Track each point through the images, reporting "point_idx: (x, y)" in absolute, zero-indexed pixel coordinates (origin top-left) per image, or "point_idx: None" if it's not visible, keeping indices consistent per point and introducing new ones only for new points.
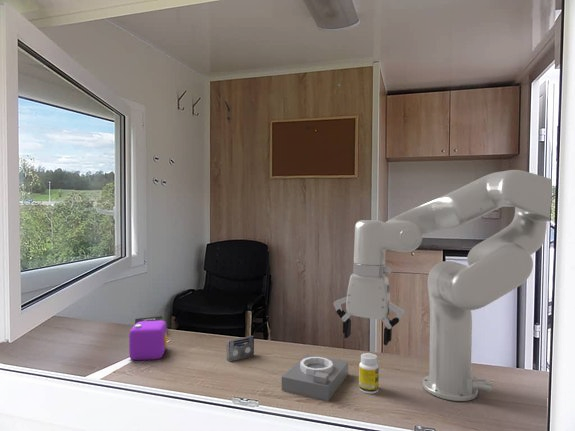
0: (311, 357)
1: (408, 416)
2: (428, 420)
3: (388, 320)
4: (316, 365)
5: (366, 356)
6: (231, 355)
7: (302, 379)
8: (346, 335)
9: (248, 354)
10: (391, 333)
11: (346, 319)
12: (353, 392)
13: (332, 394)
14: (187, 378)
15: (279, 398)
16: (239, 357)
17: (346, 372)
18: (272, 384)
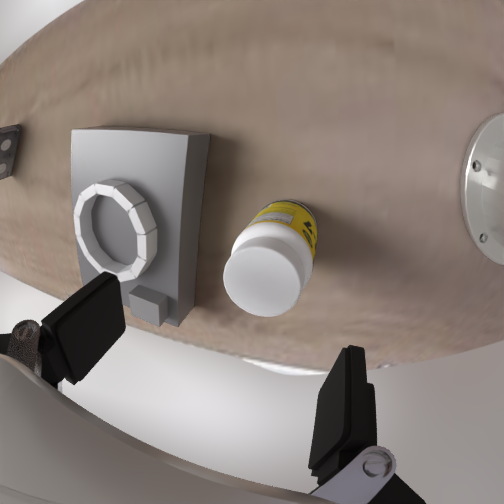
0: (83, 196)
1: (376, 342)
2: (413, 347)
3: (347, 494)
4: (110, 204)
5: (249, 291)
6: (3, 174)
7: None
8: (115, 335)
9: (13, 141)
10: (373, 416)
11: (59, 389)
12: None
13: (194, 281)
14: (13, 250)
15: None
16: (11, 158)
17: (201, 154)
18: None
